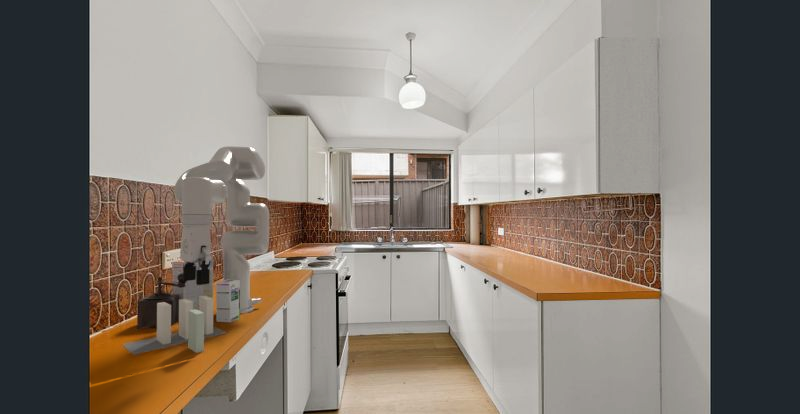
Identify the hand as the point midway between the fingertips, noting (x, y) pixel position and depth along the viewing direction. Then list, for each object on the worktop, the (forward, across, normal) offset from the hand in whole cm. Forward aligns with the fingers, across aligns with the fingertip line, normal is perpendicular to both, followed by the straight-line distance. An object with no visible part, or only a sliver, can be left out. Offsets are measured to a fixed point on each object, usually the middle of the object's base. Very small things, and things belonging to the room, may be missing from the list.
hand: (196, 282), depth 107 cm
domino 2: (+19, -14, +2) cm, 24 cm away
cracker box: (+19, -42, +14) cm, 49 cm away
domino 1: (+19, -14, -4) cm, 24 cm away
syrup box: (+19, -24, +19) cm, 36 cm away
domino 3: (+19, 0, 0) cm, 19 cm away
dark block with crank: (+19, -36, +3) cm, 40 cm away
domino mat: (+19, -14, 0) cm, 24 cm away
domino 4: (+18, -14, +8) cm, 25 cm away
